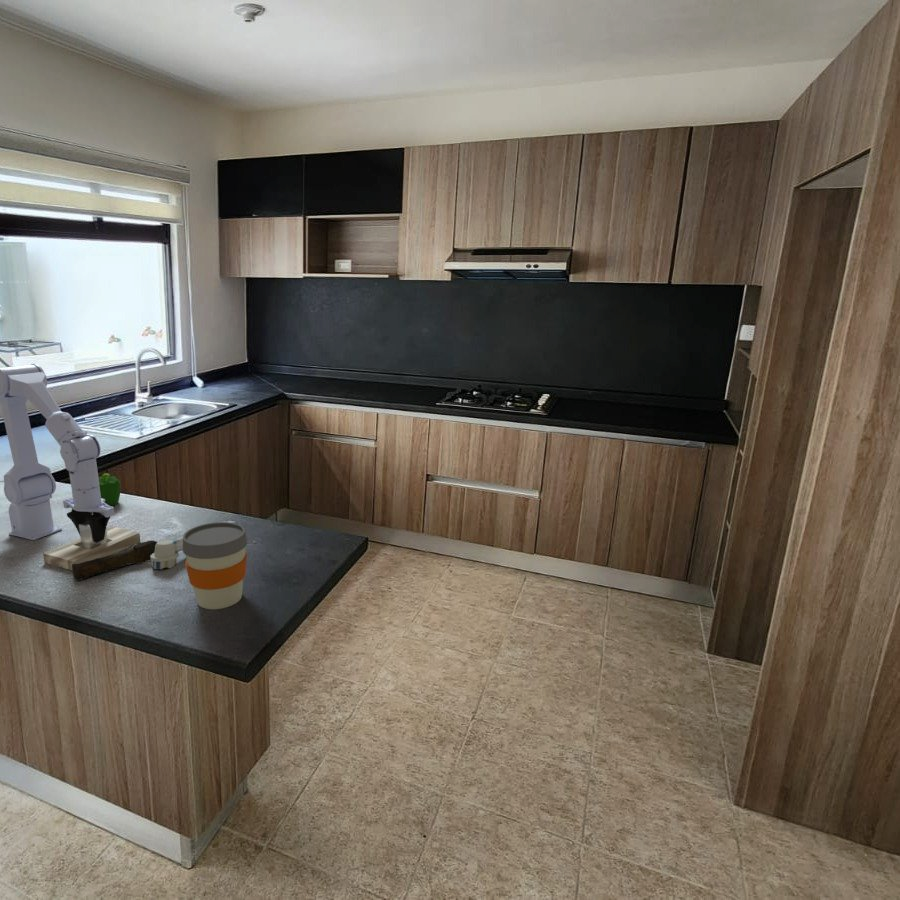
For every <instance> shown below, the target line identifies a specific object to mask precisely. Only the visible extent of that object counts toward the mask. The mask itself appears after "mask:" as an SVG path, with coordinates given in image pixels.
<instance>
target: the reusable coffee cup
mask: <svg viewBox="0 0 900 900" xmlns="http://www.w3.org/2000/svg"><path fill="white" fill-rule="evenodd" d="M182 537H183V550H182V553H183V554H184V555H185V561H184V562H185V563H184V564H185V565H184V566H185V569H186V573H187V575H188V576H187V577H188V580H189V581H188V582H189V583H190V585H191V586H192V588H193V591H194V595H195V600H196V604H197V605H198V607H200V608H203V609H206V610H220V609H225V608H228V607H231V606H233V605H235V604H237V603H238V602H240V600H241V599H242V597H243V585H244V584H243V583H244V578H245V577H246V572H247V571H246V570H247V558H248V555H247V552H246V546H247V544H248V538H247V535H246V528H245V527H244V526H243V525H241V524H239V523H238V524H236V523H230V522H227V521H223V522H222V521H219V522H218V521H217V522H216V521H215V522H210V523H204V524H200V525H197V526H194V527H192V528H189V529H188V530H187V531H186V532H184V534H183V535H182Z"/></svg>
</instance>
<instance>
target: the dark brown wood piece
mask: <svg viewBox="0 0 900 900" xmlns="http://www.w3.org/2000/svg"><path fill="white" fill-rule="evenodd" d="M157 542H158V541H156V540H147V541H143V542H139V543H137V544H134V545H132V548H129V549H127V550H122V551H119V552H117V553H115V554H112V555H108V556H105V557H102V558H96V559H94V560H91V561H86V562H83V563H79V564H72V570H71V571H72V574H73V577H74V579H75V581H77V582H80V581H81V580H83V579H86V580H87V578H89V577H92V576H95V575H97V574H100V573H101V574H102V573H105V572H107V571H112V570H115V569H118V568H121V567H124V566H128V565H130V564H135V563H136V564H143V563H146V562H150V561H152V560H151V558H150V555H152V554H153V553H154V552H155V545H156V544H157Z"/></svg>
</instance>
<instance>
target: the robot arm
mask: <svg viewBox="0 0 900 900" xmlns="http://www.w3.org/2000/svg"><path fill="white" fill-rule="evenodd" d="M47 385H48V379H47V375H46V373H45V371H44V369H43V368H42V367H41V366H40V365H39V364H37V363H31V364H25V365H24V364H23V365H14V366H5V367H0V408H1V412H2V418H3V423H4V426H5V431H6V436H7V439H8V444H9V447H10V448H9V450H10V452H11V458H12V461H13V466H12V467H11V468H9V470H8V471H7V472H6V473H5V474H4V475H3V484H4V485H3V493H4V495H5V498H6V500H7V501H8V502H10V505H9V507H8V516H9V520H10V521H9V522H10V527H11V531H9V532H8V535H11V536H15V537H20V538H23V539H26V540H31V541H34V540H39V539H41V538H43V537H46V536H50V535H51V534H55V533H57V532H59V531H62V530H63V527H60V526H56V525H54V519H53V512H52V507H51V501H50V499H52V498H53V495H54V493H55V492H56V489H57V483H56V479H55V478H54V476H53V475H52V471H51V468H50V467H49V466H47V465H45V464H42V463H40V462H39V459H38V455H37V451H36V450H37V449H36V445H35V441H34V436H33V433H32V427H31V423H30V417H29V414H28V413H29V412H28V409H27V402H28V401H29V402H30V403H31V404H32V405H33V406H34V408H36V409H37V410H38V412H39V413H40V414H41V415H42V416H43V417H44V419H46V421H45V424H44V425H45V426H44V427H45V428H46V429H47V430H48V431H49V434H50V435H51V436H52V438H54V439H55V441H56V443H58V445H59V446H60V450H59V453H60V456H61V458H62V460H63V463H64V467H65V469H66V471H68V475H69V482H70V488H71V495H72V497H69V498H67V499H64V500H62V503H63V505H62V506H63V508H64V509H69V508H71V511H69V512H67V513H66V517H68V518H69V520H70V521H71V522H72V523H73V525H74V526H75V528H76V531H77V532H78V534H79V536H80V530H79V524H81V523H84V522H86V521H87V522H88V524H89V526H90V528H91V531H92V535H93V539H94V541H95V542H100V541H102V540H104V537H105V531H106V528H107V526H108V522H109V521H110V518H111V517H113V516H114V515H116V514H115V508H114V506H109V505H107V504H106V503H104V502H105V499H102V498H101V494H100V486H99V473H98V465H97V458H99V457H100V455H101V446H100V442H99V441H98V440H97V437H96V436H95V435H93V434H90V433H88V431H84V430H83V429H82V427H80V425H79V424H78V423H77V421H76V420H75V419H74V417H73V416H72V415H71V414H70V413H69V412H65V411H62V410H61V408H60V406H59V405H58V403H57V402H56V400H55V399H54V397H53V396H52V394H51V393H50V391H49V389H48V388H47Z"/></svg>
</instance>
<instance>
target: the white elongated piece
mask: <svg viewBox="0 0 900 900" xmlns="http://www.w3.org/2000/svg"><path fill="white" fill-rule="evenodd" d="M221 522H224V521H221ZM226 522H230V523H236V524H239V523H238V521H236V520H234V519H231V520H228V521H226ZM156 542H157V544H156V545H155V552H154V553H153V554H152V555H150V558H151V560H150V561H151V562H152V564H151V566H152V568H153V569H155V570H163V569H165V568H167V569H171V568H174V567H175V565H177V563H178V560H177V559H178V557H179V552H181V551H182V552H183V536H180V537H178V538H174V539H172V540H171V539H169V540H168V539H165V540H160V541H159V540H158V541H156Z"/></svg>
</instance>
